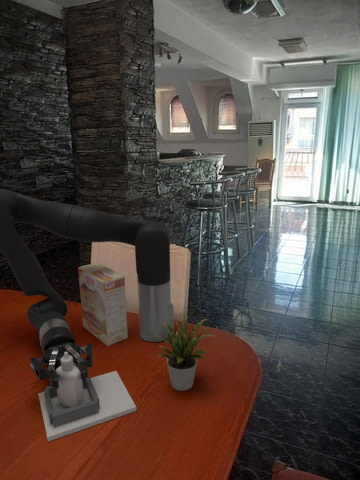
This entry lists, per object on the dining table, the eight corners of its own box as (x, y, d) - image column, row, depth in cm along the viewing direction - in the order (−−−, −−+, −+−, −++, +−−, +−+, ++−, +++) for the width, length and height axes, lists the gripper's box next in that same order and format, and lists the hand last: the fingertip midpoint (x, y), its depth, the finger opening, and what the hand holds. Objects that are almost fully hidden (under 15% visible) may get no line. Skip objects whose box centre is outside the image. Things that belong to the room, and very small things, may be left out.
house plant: (223, 371, 91) (225, 312, 87) (209, 410, 79) (210, 342, 74) (169, 361, 96) (168, 303, 91) (148, 395, 83) (145, 330, 79)
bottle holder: (116, 374, 91) (115, 361, 90) (136, 410, 79) (135, 396, 78) (38, 397, 83) (37, 383, 82) (47, 441, 71) (45, 426, 70)
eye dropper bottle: (66, 413, 76) (60, 363, 72) (56, 398, 80) (50, 350, 76) (86, 404, 78) (81, 355, 75) (75, 390, 82) (71, 342, 79)
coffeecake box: (82, 326, 113) (76, 267, 108) (102, 319, 118) (98, 261, 112) (107, 347, 102) (102, 281, 97) (128, 338, 107) (125, 275, 101)
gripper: (23, 333, 85) (31, 375, 71) (85, 319, 91) (104, 355, 77) (27, 361, 87) (35, 407, 73) (87, 346, 93) (106, 386, 79)
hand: (70, 380), depth 75 cm, fingers closed on eye dropper bottle, 4 cm apart
